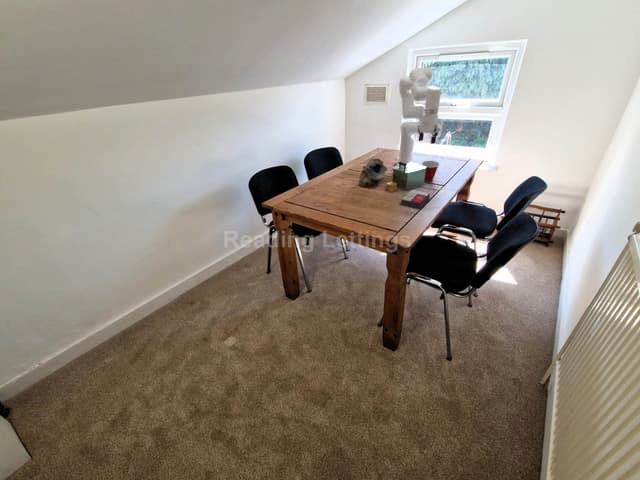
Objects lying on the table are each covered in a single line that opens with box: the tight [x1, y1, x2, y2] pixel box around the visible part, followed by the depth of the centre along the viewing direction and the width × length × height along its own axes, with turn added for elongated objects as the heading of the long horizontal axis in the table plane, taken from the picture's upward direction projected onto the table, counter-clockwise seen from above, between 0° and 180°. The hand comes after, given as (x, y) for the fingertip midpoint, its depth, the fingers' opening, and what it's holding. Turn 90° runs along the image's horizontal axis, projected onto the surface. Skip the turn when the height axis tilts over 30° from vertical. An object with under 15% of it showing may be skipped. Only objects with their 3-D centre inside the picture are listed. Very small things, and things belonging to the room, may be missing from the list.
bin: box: [391, 169, 426, 191], centre depth 181 cm, size 16×13×11 cm
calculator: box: [400, 189, 431, 210], centre depth 161 cm, size 11×4×15 cm
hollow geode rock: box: [358, 158, 388, 187], centre depth 191 cm, size 28×13×15 cm
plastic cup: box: [421, 160, 440, 183], centre depth 185 cm, size 11×11×12 cm
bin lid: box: [392, 162, 426, 174], centre depth 176 cm, size 16×13×5 cm
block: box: [385, 181, 397, 193], centre depth 177 cm, size 4×4×4 cm
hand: (426, 142), depth 173 cm, fingers open, 9 cm apart
